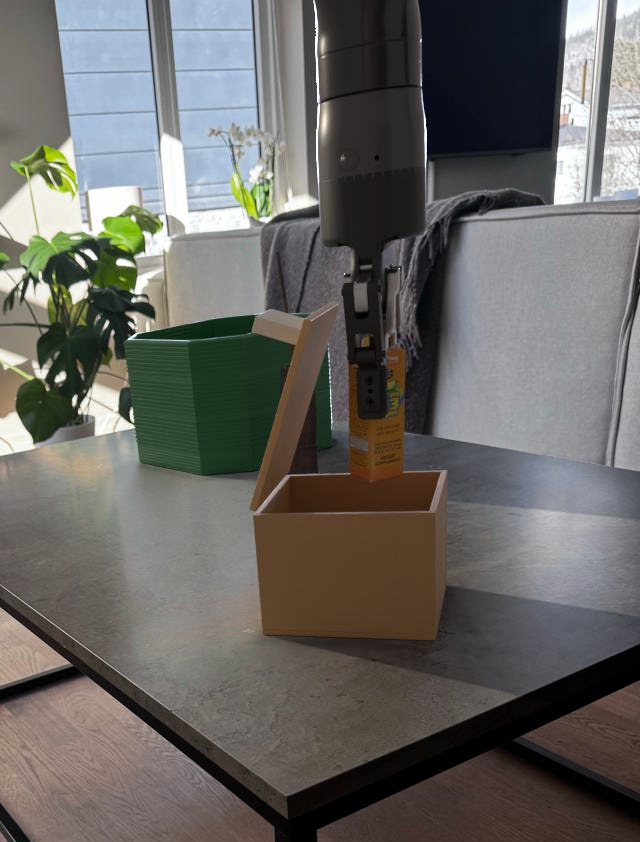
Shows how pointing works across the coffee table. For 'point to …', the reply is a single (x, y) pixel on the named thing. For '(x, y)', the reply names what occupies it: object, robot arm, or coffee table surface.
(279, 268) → the butter churn
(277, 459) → the flap
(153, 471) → the coffee table surface
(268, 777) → the coffee table surface
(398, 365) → the supplement box
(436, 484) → the carton
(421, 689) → the coffee table surface
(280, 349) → the planter
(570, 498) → the coffee table surface
